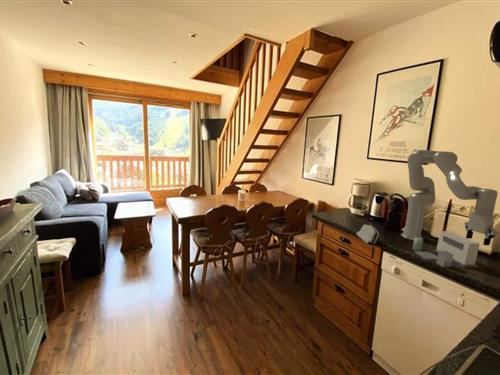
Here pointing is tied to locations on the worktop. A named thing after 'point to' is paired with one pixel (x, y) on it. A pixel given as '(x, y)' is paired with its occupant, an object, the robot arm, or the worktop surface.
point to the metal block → (444, 258)
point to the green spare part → (417, 244)
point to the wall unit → (458, 248)
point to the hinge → (368, 234)
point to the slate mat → (427, 255)
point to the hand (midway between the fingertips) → (477, 241)
